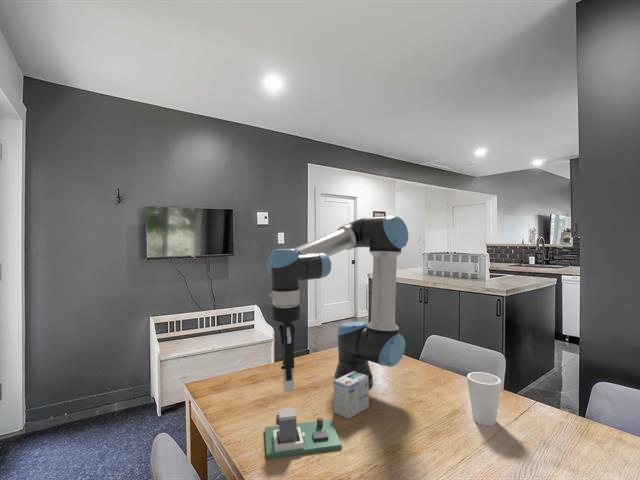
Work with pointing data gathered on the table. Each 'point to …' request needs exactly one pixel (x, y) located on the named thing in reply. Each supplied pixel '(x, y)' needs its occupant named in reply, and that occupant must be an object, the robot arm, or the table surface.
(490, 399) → the foam cup
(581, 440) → the table surface
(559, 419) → the table surface
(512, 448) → the table surface
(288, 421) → the block
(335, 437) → the board
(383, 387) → the table surface
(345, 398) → the light bulb box
